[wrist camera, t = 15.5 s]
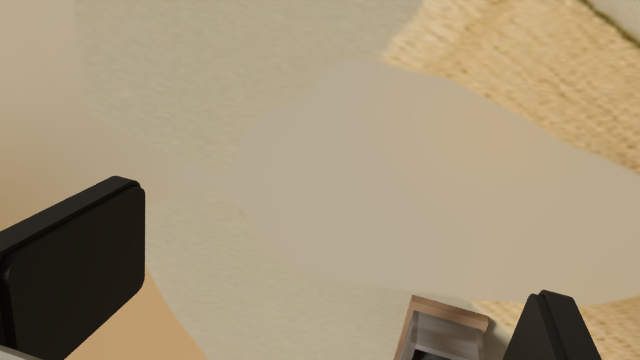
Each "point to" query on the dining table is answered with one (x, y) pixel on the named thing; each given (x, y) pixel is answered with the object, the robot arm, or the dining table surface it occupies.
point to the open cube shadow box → (441, 331)
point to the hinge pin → (429, 356)
